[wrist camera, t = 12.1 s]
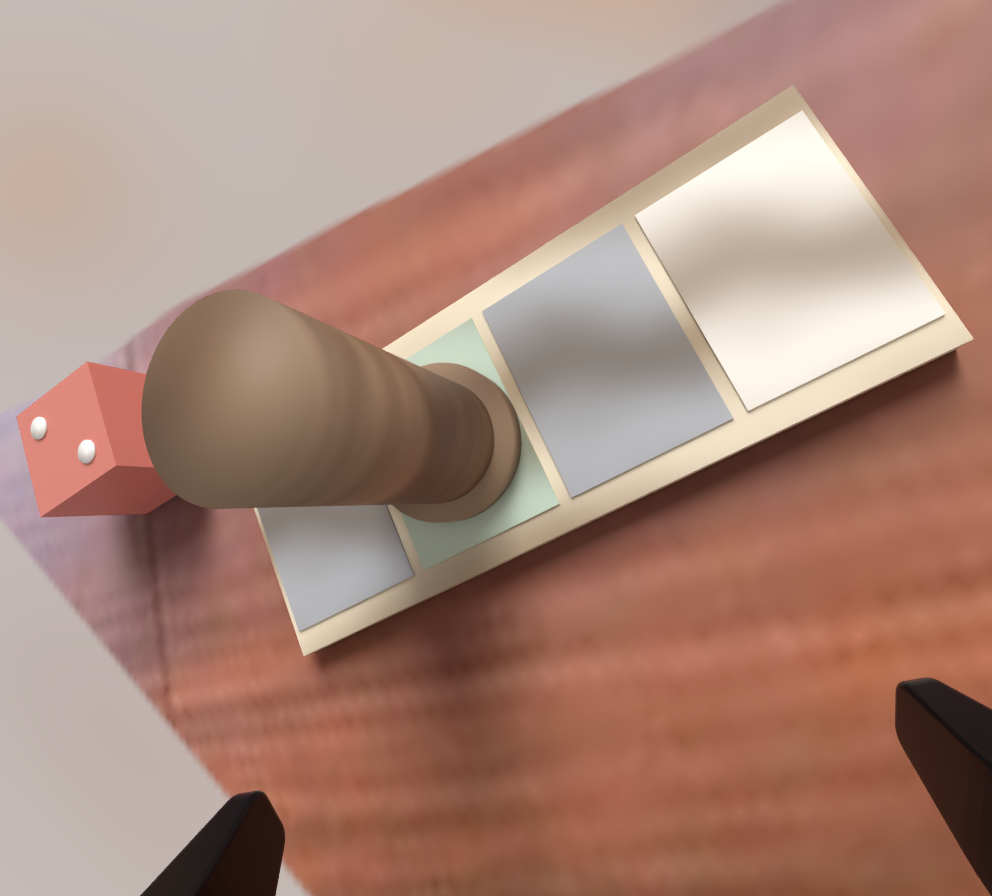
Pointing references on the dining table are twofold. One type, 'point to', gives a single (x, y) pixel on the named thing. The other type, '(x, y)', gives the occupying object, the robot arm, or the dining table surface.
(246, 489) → the pawn
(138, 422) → the die
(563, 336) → the board
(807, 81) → the dining table surface
